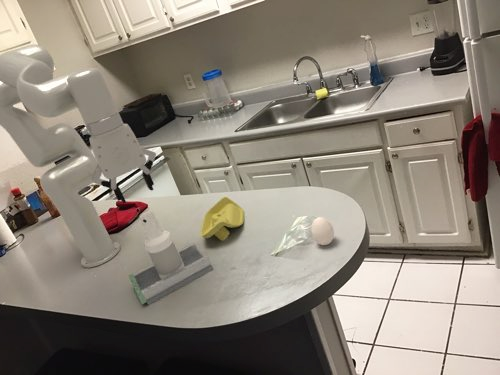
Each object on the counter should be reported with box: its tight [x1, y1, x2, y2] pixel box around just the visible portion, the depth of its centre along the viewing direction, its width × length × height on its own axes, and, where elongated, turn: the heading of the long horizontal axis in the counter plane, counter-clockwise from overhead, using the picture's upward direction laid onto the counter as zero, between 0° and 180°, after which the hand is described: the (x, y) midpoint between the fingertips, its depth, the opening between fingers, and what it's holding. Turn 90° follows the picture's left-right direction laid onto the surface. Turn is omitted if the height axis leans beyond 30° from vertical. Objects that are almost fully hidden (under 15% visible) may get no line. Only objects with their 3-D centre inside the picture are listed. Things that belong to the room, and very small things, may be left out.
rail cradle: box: [128, 242, 214, 306], centre depth 112 cm, size 12×19×4 cm, turn 116°
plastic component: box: [200, 196, 245, 242], centre depth 127 cm, size 20×7×10 cm
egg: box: [310, 216, 335, 246], centre depth 104 cm, size 5×5×7 cm
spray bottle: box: [139, 211, 185, 279], centre depth 109 cm, size 7×7×18 cm
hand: (137, 194), depth 103 cm, fingers open, 6 cm apart
